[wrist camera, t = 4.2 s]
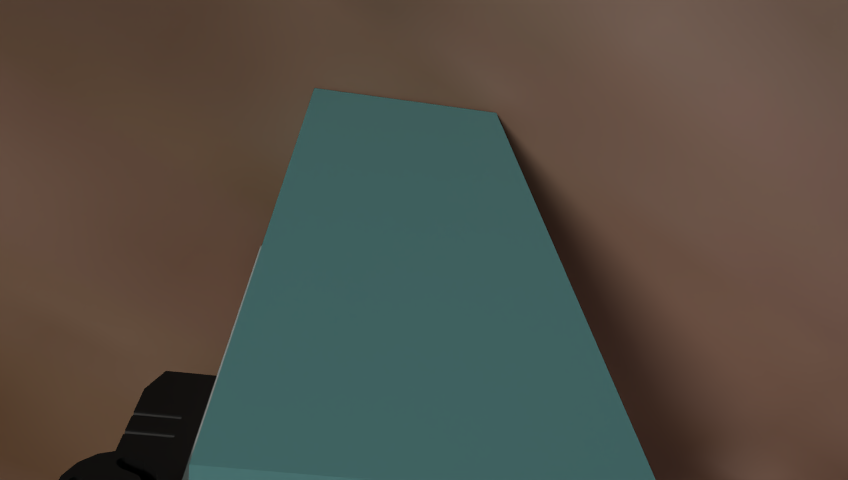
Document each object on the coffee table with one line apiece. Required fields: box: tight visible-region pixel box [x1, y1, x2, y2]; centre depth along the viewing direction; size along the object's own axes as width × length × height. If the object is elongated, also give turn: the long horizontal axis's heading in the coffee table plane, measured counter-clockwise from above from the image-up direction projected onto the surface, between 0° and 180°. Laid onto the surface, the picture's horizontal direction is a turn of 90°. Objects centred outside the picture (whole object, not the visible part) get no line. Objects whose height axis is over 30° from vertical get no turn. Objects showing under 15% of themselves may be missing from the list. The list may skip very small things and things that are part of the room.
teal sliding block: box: [189, 88, 656, 480], centre depth 12 cm, size 9×4×10 cm, turn 171°
